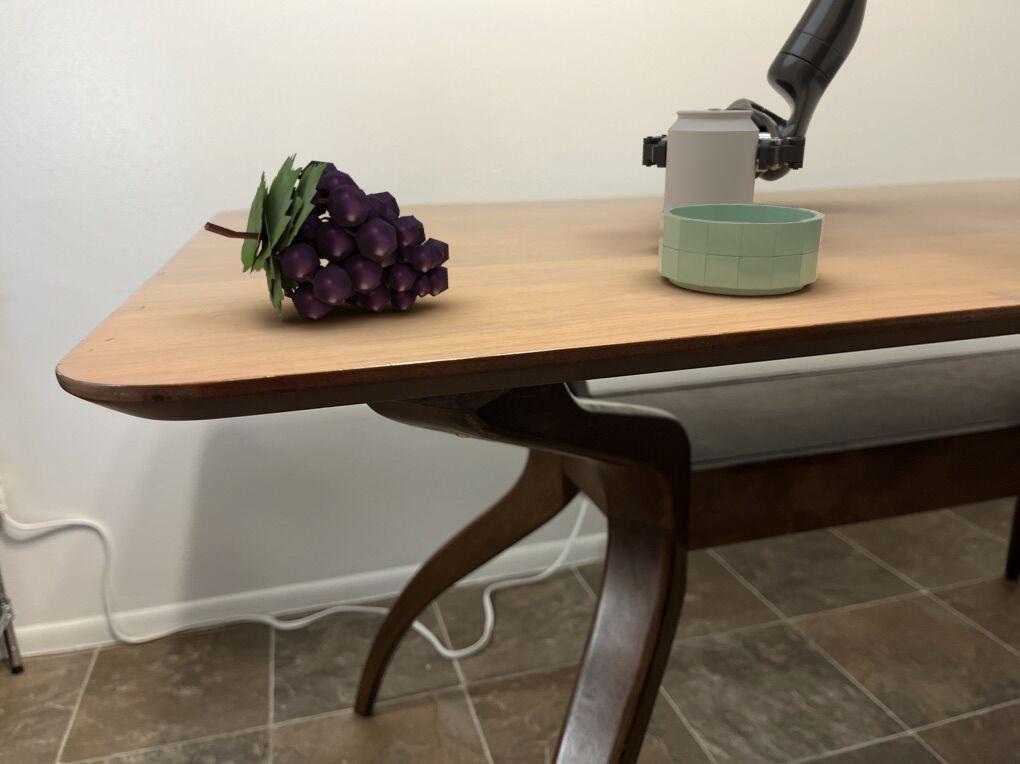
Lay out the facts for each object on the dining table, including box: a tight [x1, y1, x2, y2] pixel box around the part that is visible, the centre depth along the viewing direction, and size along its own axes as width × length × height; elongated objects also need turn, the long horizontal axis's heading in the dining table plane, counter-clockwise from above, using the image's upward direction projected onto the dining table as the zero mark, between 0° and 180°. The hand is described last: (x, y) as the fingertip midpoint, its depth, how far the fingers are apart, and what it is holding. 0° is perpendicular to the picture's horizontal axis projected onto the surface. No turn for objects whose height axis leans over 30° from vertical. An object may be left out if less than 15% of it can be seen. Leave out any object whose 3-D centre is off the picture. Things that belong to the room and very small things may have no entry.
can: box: [663, 107, 759, 210], centre depth 70 cm, size 8×8×12 cm
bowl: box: [657, 203, 826, 297], centre depth 59 cm, size 11×11×5 cm
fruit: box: [203, 152, 450, 321], centre depth 51 cm, size 10×11×15 cm
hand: (711, 155), depth 69 cm, fingers open, 8 cm apart
